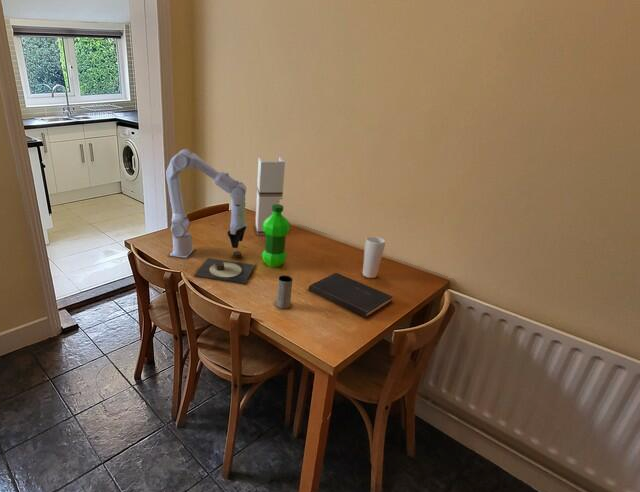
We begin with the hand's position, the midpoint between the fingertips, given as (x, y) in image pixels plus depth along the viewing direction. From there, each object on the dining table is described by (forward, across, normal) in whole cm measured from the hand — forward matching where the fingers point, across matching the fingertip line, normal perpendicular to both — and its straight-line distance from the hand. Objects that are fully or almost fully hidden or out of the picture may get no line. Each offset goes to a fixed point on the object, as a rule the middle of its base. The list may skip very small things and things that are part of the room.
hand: (237, 244), depth 172 cm
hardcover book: (+6, -19, -46) cm, 50 cm away
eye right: (+6, 0, 0) cm, 6 cm away
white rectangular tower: (+6, +34, -6) cm, 35 cm away
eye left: (+5, -14, +3) cm, 15 cm away
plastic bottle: (+6, -2, -16) cm, 17 cm away
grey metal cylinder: (+6, -32, -25) cm, 41 cm away
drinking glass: (+7, 0, -53) cm, 53 cm away
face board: (+6, -14, +1) cm, 15 cm away
